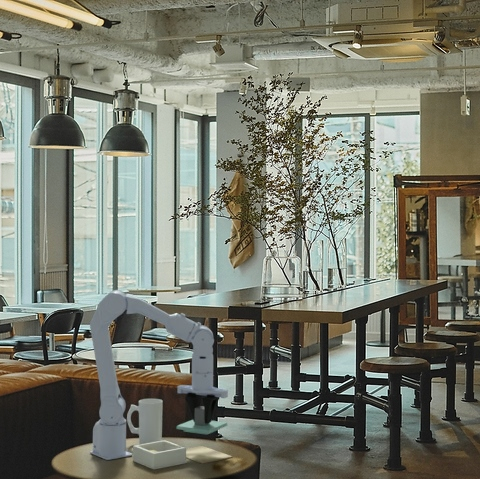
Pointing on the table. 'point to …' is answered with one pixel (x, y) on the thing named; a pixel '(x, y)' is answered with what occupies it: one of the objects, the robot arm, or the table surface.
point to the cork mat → (205, 454)
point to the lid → (201, 423)
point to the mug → (147, 420)
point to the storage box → (159, 454)
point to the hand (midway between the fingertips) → (202, 422)
